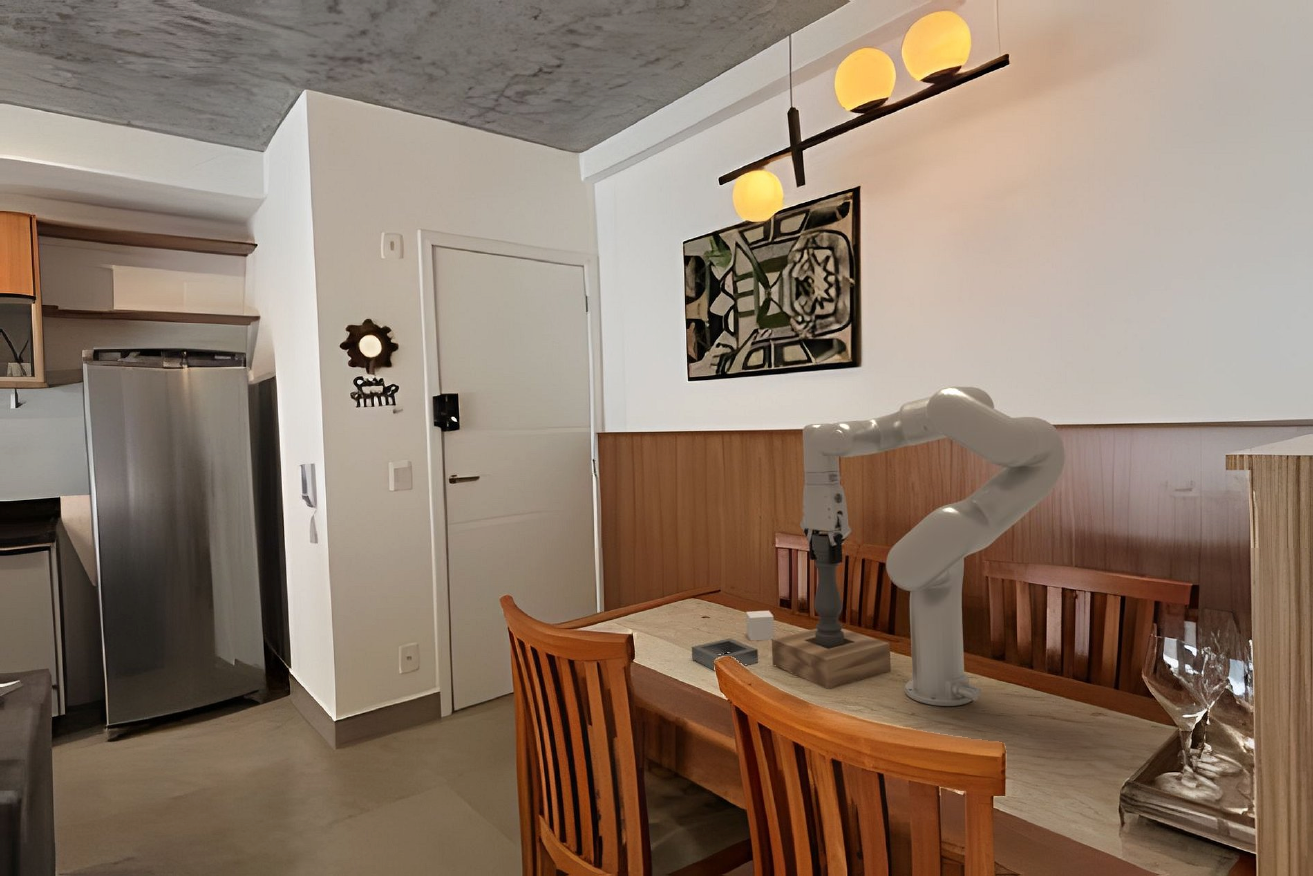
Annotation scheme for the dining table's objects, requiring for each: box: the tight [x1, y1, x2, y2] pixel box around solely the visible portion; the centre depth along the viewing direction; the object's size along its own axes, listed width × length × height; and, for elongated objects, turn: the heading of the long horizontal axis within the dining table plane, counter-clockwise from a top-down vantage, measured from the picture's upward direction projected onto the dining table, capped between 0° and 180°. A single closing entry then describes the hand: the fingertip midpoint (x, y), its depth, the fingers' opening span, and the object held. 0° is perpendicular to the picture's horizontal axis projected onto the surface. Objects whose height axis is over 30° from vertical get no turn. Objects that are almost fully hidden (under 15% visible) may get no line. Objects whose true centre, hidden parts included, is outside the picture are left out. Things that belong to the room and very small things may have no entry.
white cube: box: [745, 610, 775, 642], centre depth 184 cm, size 6×6×6 cm
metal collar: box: [691, 638, 759, 671], centre depth 166 cm, size 11×11×3 cm
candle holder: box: [812, 532, 844, 649], centre depth 158 cm, size 6×6×25 cm
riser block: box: [771, 627, 892, 689], centre depth 158 cm, size 18×18×6 cm
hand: (825, 560), depth 158 cm, fingers closed on candle holder, 5 cm apart
